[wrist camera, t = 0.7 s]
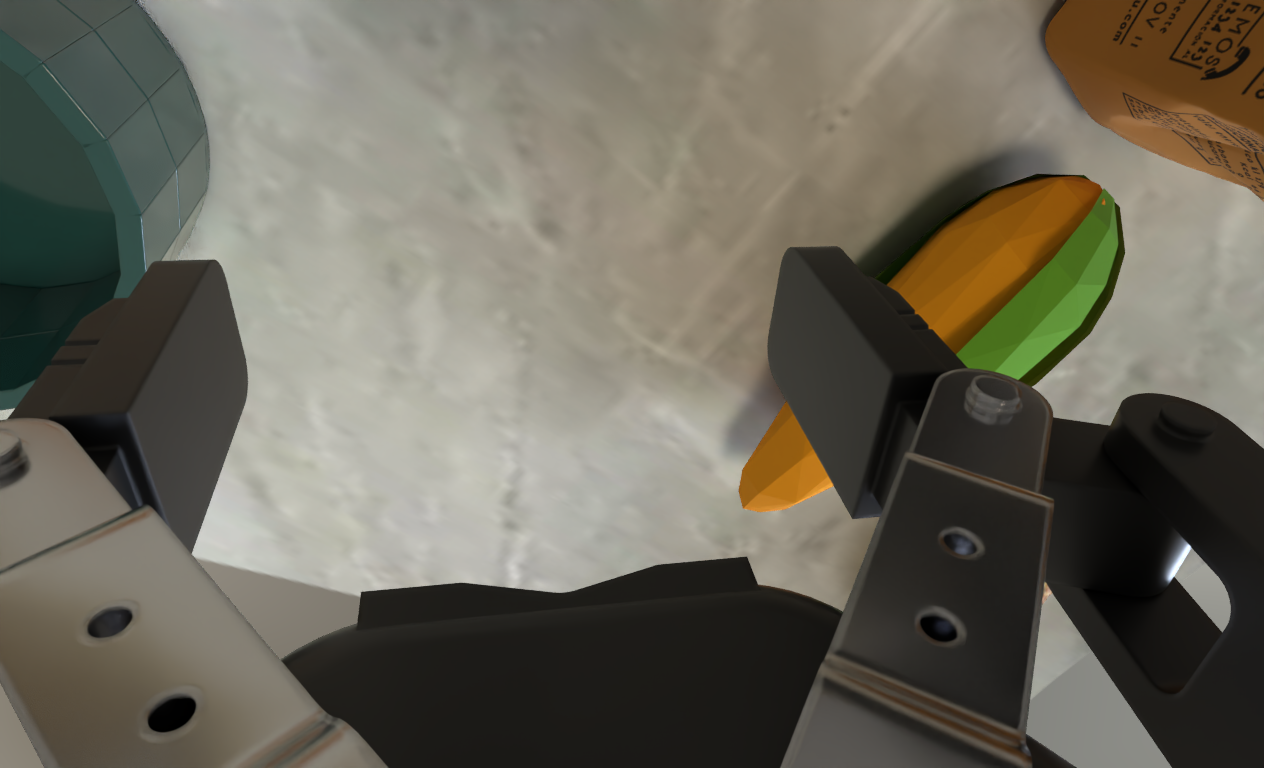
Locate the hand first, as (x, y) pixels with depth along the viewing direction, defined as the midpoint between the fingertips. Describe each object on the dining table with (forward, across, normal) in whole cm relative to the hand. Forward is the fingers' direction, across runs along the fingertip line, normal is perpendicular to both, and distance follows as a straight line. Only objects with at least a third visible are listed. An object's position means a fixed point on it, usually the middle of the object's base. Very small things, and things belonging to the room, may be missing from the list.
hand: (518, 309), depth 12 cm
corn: (+20, -18, +13) cm, 30 cm away
